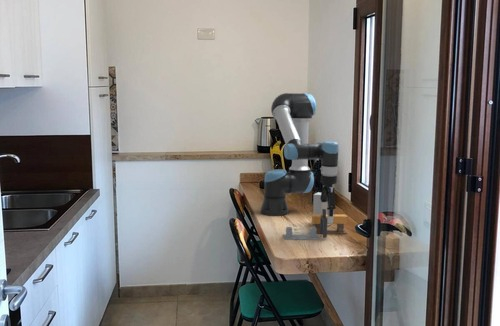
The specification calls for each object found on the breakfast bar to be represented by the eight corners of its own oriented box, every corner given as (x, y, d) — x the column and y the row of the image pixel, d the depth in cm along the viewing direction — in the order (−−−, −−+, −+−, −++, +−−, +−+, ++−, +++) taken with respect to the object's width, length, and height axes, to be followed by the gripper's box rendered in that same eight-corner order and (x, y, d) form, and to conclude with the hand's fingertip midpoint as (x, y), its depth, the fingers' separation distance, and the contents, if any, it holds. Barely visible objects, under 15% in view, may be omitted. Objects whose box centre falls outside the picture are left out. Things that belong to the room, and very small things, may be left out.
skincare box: (332, 224, 259) (334, 193, 257) (327, 226, 253) (329, 195, 251) (317, 221, 263) (318, 191, 261) (311, 224, 257) (313, 193, 255)
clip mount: (282, 235, 237) (282, 226, 236) (316, 235, 238) (317, 225, 237) (284, 239, 230) (284, 229, 230) (319, 239, 232) (320, 229, 231)
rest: (310, 230, 247) (311, 221, 246) (343, 230, 248) (344, 221, 247) (313, 233, 241) (313, 224, 240) (346, 233, 242) (347, 224, 241)
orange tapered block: (311, 221, 245) (311, 214, 245) (344, 221, 246) (344, 214, 246) (313, 223, 241) (313, 216, 241) (346, 223, 242) (347, 216, 242)
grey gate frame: (319, 233, 238) (320, 207, 237) (323, 233, 238) (324, 207, 237) (323, 237, 232) (324, 211, 230) (326, 237, 232) (327, 211, 230)
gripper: (315, 170, 252) (313, 212, 256) (327, 179, 228) (324, 226, 231) (330, 170, 253) (328, 212, 256) (343, 179, 228) (341, 226, 232)
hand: (326, 219), depth 244 cm, fingers open, 13 cm apart
